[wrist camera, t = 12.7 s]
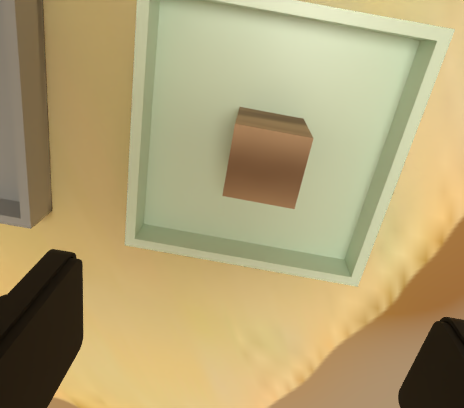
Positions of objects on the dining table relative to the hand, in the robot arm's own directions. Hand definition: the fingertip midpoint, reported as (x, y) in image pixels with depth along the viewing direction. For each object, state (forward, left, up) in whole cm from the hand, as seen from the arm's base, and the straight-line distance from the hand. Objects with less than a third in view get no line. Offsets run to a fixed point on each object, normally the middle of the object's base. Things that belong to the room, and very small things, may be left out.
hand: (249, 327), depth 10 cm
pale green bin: (+1, +1, -22) cm, 22 cm away
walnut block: (+1, +1, -22) cm, 22 cm away
